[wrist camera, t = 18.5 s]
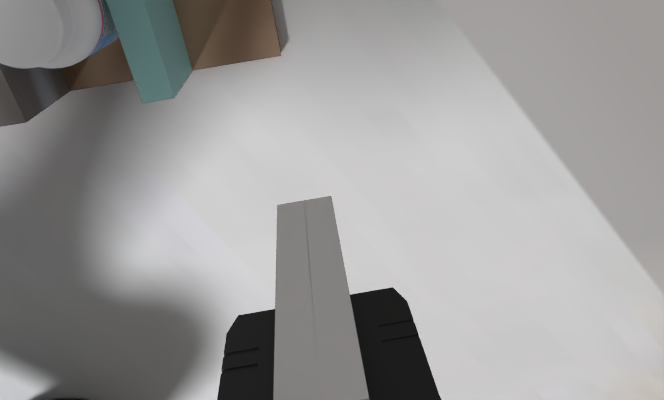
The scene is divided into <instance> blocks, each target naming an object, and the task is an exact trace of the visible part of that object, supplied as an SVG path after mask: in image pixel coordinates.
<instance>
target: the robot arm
mask: <svg viewBox="0 0 664 400" xmlns="http://www.w3.org/2000/svg"><path fill="white" fill-rule="evenodd" d="M60 400H78V399H60ZM217 400H441V398H440V396H439V393H438V390H437V387H436V385H435V382H434V379H433V376H432V373H431V370H430V367H429V364H428V361H427V358H426V355H425V352H424V349H423V347H422V344H421V341H420V338H419V336H418V332H417V329H416V326H415V323H414V321H413V317H412V314H411V311H410V309H409V306H408V303H407V301H406V300H405V299H404V298H403V297H402V296H401V295H400V294H399V293H398V292H397V291H396V290H395V289H394V288H387V289H381V290H375V291H369V292H363V293H358V294H352V295H350V294H349V288H348V283H347V278H346V272H345V267H344V262H343V256H342V251H341V246H340V240H339V235H338V230H337V224H336V219H335V214H334V208H333V203H332V198H331V196H328V197H322V198H316V199H310V200H304V201H298V202H293V203H287V204H281V205H277V249H276V297H275V309H273V310H267V311H261V312H256V313H250V314H244V315H238V317H237V318H236V320H235V322H234V323H233V325H232V326H231V328H230V330H229V331H228V333H227V336H226V343H225V350H224V357H223V364H222V374H221V378H220V385H219V392H218V399H217Z"/></svg>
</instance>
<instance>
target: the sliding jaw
mask: <svg viewBox="0 0 664 400" xmlns="http://www.w3.org/2000/svg"><path fill="white" fill-rule="evenodd" d="M106 2H107V4H108V7H109V10H110V13H111V16H112V19H113V22H114V24H115V27H116V30H117V33H118V36H119V39H120V41H121V44H122V47H123V50H124V53H125V56H126V59H127V61H128V64H129V67H130V70H131V73H132V76H133V78H134V81H135V84H136V87H137V90H138V93H139V95H140V98H141V101H142V103H147V102H153V101H159V100H165V99H171V98H174V97H175V96H176V95H177V93H178V92H179V90H180V89H181V87H182V86H183V84H184V83H185V81H186V80H187V78H188V77H189V75H190V74H191V73H192V71H193V69H192V66H191V62H190V59H189V56H188V52H187V49H186V45H185V42H184V38H183V35H182V31H181V28H180V24H179V21H178V17H177V14H176V10H175V7H174V3H173V0H106Z"/></svg>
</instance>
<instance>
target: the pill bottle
mask: <svg viewBox="0 0 664 400" xmlns="http://www.w3.org/2000/svg"><path fill="white" fill-rule="evenodd" d="M118 38H119V36H118V33H117V30H116V27H115V24H114V22H113V19H112V16H111V13H110V10H109V7H108V4H107V2H106V0H0V63H1V64H4V65H7V66H10V67H15V68H23V69H26V68H35V67H42V68H64V67H68V66H72V65H74V64H76V63H79V62H80V61H82V60H84V59H85V58H87V57H89V56H90V55H92V54H94V53H95V52H97V51H99V50H100V49H102V48H104V47H105V46H107V45H109V44H110V43H112V42H114V41H115V40H117V39H118Z"/></svg>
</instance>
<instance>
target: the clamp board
mask: <svg viewBox="0 0 664 400" xmlns="http://www.w3.org/2000/svg"><path fill="white" fill-rule="evenodd" d="M173 3H174V7H175V10H176V14H177V17H178V21H179V24H180V28H181V31H182V35H183V38H184V42H185V45H186V49H187V52H188V56H189V59H190V62H191V66H192V69H193V70H198V69H204V68H210V67H216V66H222V65H228V64H234V63H240V62H246V61H252V60H258V59H264V58H270V57H276V56H281V50H280V45H279V40H278V34H277V29H276V24H275V19H274V14H273V8H272V3H271V0H173ZM132 80H134V78H133V76H132V73H131V70H130V67H129V64H128V61H127V59H126V56H125V53H124V50H123V47H122V44H121V41H120V39H119V38H118V39H117V40H115V41H114V42H112V43H110V44H109V45H107V46H105V47H104V48H102V49H100V50H99V51H97V52H95V53H94V54H92V55H90V56H89V57H87V58H85V59H84V60H82V61H80V62H79V63H76V64H74V65H72V66H68V67H64V68H42V67H35V68H26V69H23V68H15V67H10V66H7V65H4V64H1V63H0V127H1V126H7V125H13V124H19V123H25V122H27V121H29V120H30V119H32V118H33V117H34V116H36V115H37V114H39V113H40V112H41V111H43V110H44V109H46V108H47V107H48V106H50V105H51V104H53V103H54V102H55V101H57V100H58V99H60V98H61V97H62V96H64V95H65V94H67V93H68V92H69V91H72V90H78V89H84V88H90V87H96V86H102V85H108V84H114V83H120V82H126V81H132Z"/></svg>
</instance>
